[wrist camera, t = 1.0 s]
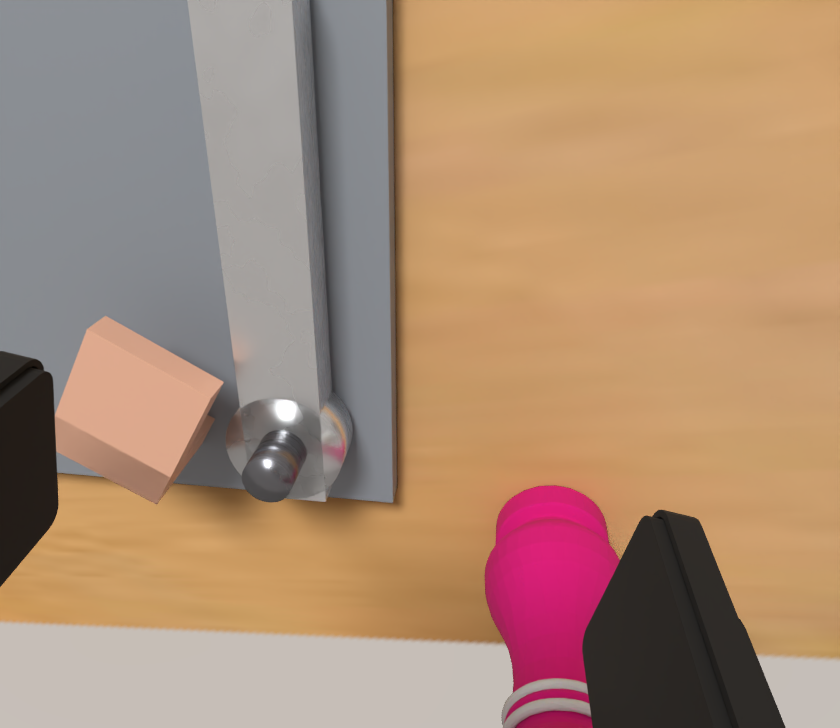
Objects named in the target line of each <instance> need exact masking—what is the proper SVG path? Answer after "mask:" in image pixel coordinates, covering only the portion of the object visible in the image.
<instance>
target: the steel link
mask: <svg viewBox="0 0 840 728" xmlns="http://www.w3.org/2000/svg"><path fill="white" fill-rule="evenodd" d="M187 1H188V9H189V17H190V25H191V32H192V40H193V48H194V56H195V63H196V71H197V79H198V87H199V94H200V102H201V110H202V118H203V125H204V133H205V141H206V149H207V156H208V164H209V172H210V180H211V187H212V195H213V203H214V211H215V218H216V226H217V234H218V242H219V249H220V257H221V265H222V273H223V280H224V288H225V296H226V304H227V311H228V319H229V327H230V335H231V342H232V350H233V358H234V366H235V373H236V381H237V389H238V397H239V404H240V407H239V409H238V410H237V412H236V413H235V414H234V416H233V417H232V419H231V420H230V422H229V425H228V427H227V431H226V448H227V452H228V455H229V458H230V460H231V462H232V464H233V466H234V467H235V468H236V470H237V471H238V472H239V474H240V475H241V476H242V483H243V485H244V487H245V489H246V490H247V491H248V492H249V493H250V494H251V495H252V496H253V497H255V498H257V499H259V500H261V501H265V502H278V501H281V500H283V499H284V498H288V499H299V500H310V501H321V502H326V500H327V498H328V495H329V493H330V490H331V488H332V485H333V483H334V481H335V480H336V478H337V476H338V474H339V472H340V470H341V467H342V465H343V462H344V459H345V457H346V454H347V452H348V449H349V447H350V444H351V441H352V436H353V427H352V421H351V418H350V415H349V412H348V410H347V408H346V407H345V405H344V404H343V402H342V401H341V400H340V398H339V397H338V396H337V395H336V394H335V393H334V392H332V382H331V364H330V347H329V330H328V312H327V295H326V278H325V261H324V243H323V226H322V209H321V191H320V174H319V157H318V139H317V122H316V105H315V88H314V70H313V53H312V36H311V18H310V1H309V0H187Z"/></svg>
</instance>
